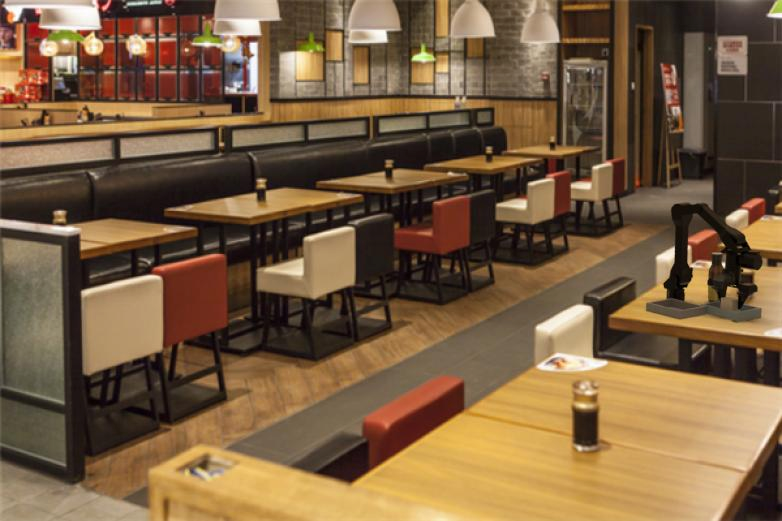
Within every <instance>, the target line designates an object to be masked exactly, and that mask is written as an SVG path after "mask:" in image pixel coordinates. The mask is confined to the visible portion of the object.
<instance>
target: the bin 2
mask: <svg viewBox="0 0 782 521" xmlns="http://www.w3.org/2000/svg"><path fill="white" fill-rule="evenodd" d="M700 305H702V306H706V313H705V315H706V314H707V315H709V316H715V317H719V318H723V319H727V320H730V321H732V322H733V323H741V322H745V321H751V320H756V319H761V318H762V309H763V308H762V307H758V306H755V305H750V304H746V303H744V304H743V306H742V308H741V309H740V312H734V311H730V310H726V309H722V308H721V304H720V301H715V302H710V303H709V302H705V303H700Z"/></svg>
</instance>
